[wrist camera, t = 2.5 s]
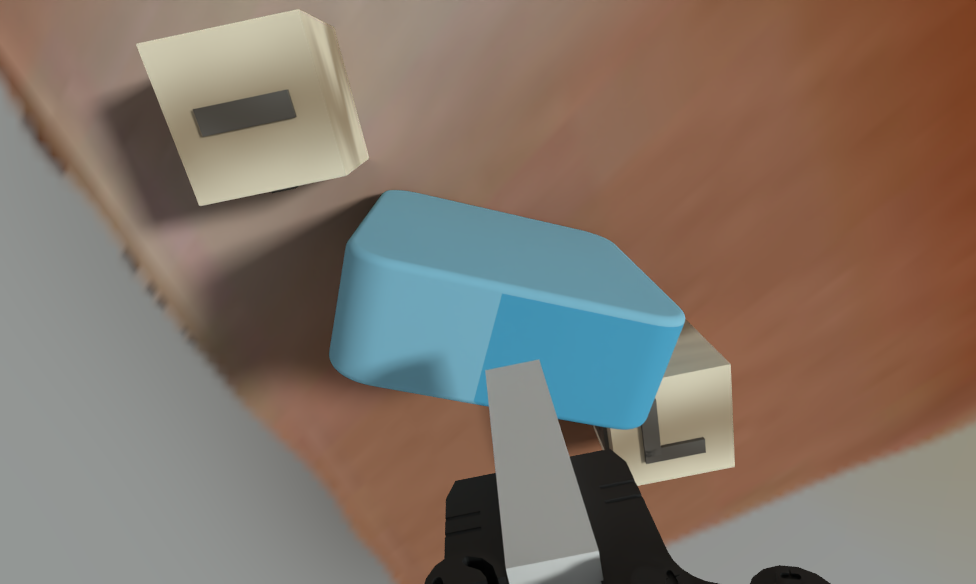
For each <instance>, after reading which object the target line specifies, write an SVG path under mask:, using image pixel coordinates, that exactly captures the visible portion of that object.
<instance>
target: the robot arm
mask: <svg viewBox="0 0 976 584" xmlns="http://www.w3.org/2000/svg"><path fill="white" fill-rule="evenodd" d="M485 373H486V383H487V392H488V402H489V412H490V421H491V431H492V441H493V450H494V460H495V470H496V473H493V474H488V475H483V476H478V477H473V478H468V479H463V480H458V481H455V483H454V485H453V487H452V489H451V491H450V493H449V494H448V496H447V498H446V522H445V535H446V538H445V559H444V560H443V561H441V562H440V563H439V564H437V565H436V566H435V567H434V568H433V570H432V571H431V573H430V574H429V575H428V577H427V578H426V581H425V584H718V583H713V582H708V581H704V580H702V579H699V578H697V577H694V576H692V575H691V574H689V573H688V572H686V571H684V570H683V569H682V568H680V567H679V566H678V565H677V564H676V563H675V562H674V561H673V559H672V558H671V556H670V555H669V553H668V551H667V549H666V547H665V545H664V543H663V540H662V538H661V536H660V534H659V532H658V530H657V527H656V525H655V523H654V521H653V519H652V517H651V514H650V512H649V510H648V508H647V506H646V504H645V501H644V499H643V497H642V496H641V493H640V491H639V488H638V486H637V484H636V483H635V481H634V478H633V475H632V473H631V471H630V469H629V467H628V465H627V462H626V461H625V460H623V459H622V458H621V457H620V456H618V455H617V454H616V453H615V452H614V451H612V450H611V449H607V450H601V451H596V452H591V453H586V454H581V455H576V456H571V457H569V454H568V450H567V447H566V444H565V441H564V438H563V434H562V431H561V428H560V425H559V422H558V418H557V415H556V412H555V409H554V405H553V402H552V399H551V396H550V393H549V389H548V386H547V383H546V380H545V377H544V373H543V370H542V367H541V364H540V360H534V361H529V362H524V363H519V364H514V365H509V366H504V367H499V368H494V369H489V370H485ZM750 584H830V583H829V582H827V581H826V580H824V579H823V578H822V577H820V576H819V575H817V574H815V573H812V572H810V571H807V570H804V569H801V568H799V567H790V566H780V565H779V566H775V567H771V568H766V569H763V570H762V571H760V572H759V573H758V574H757V575H755V576H754V577H753V578H752V580H751V583H750Z"/></svg>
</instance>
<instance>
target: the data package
mask: <svg viewBox="0 0 976 584" xmlns="http://www.w3.org/2000/svg"><path fill="white" fill-rule="evenodd" d="M684 323H685V315H684V313H683V311H682V310H681V309H680V308H679V307H678V306H677V305H676V304H675V303H674V302H673V301H672V300H671V299H670V298H669V297H668V296H667V295H666V294H665V293H664V292H663V291H662V290H661V289H660V288H659V287H658V286H657V285H656V284H655V283H654V282H653V281H652V280H651V279H650V278H649V277H648V276H647V275H646V274H645V273H644V272H642V271H641V270H640V269H639V268H638V267H637V266H636V265H635V264H634V263H633V262H632V261H631V260H630V259H629V258H628V257H627V256H626V255H625V254H624V253H623V252H622V251H621V250H620V249H619V248H618V247H617V246H616V245H615V244H614V243H612V242H611V241H609V240H607V239H605V238H603V237H601V236H598V235H595V234H592V233H589V232H586V231H582V230H578V229H573V228H569V227H565V226H560V225H556V224H551V223H547V222H543V221H538V220H534V219H529V218H525V217H521V216H516V215H512V214H508V213H503V212H499V211H494V210H490V209H486V208H481V207H477V206H472V205H468V204H464V203H459V202H455V201H450V200H446V199H442V198H437V197H433V196H428V195H424V194H420V193H415V192H410V191H402V190H389V191H385V192H384V193H383V194H382V195H381V196H380V198H379V199H378V200H377V202H376V203H375V204H374V206H373V207H372V209H371V210H370V211H369V213H368V214H367V215H366V217H365V218H364V220H363V221H362V222H361V224H360V225H359V227H358V228H357V229H356V231H355V232H354V233H353V235H352V236H351V238H350V239H349V240H348V242H347V244H346V249H345V255H344V262H343V268H342V274H341V281H340V287H339V294H338V300H337V306H336V313H335V319H334V326H333V332H332V338H331V345H330V351H329V357H330V361H331V363H332V365H333V366H334V368H335V369H336V370H337V371H338V372H339V373H341V374H342V375H344V376H345V377H347V378H349V379H351V380H353V381H356V382H359V383H362V384H366V385H371V386H376V387H382V388H387V389H393V390H399V391H404V392H410V393H415V394H421V395H427V396H432V397H438V398H444V399H449V400H455V401H460V402H466V403H472V404H477V405H483V406H488V407H489V402H488V392H487V383H486V373H485V370H489V369H494V368H499V367H504V366H509V365H514V364H519V363H524V362H529V361H534V360H540V364H541V367H542V370H543V373H544V377H545V380H546V383H547V386H548V389H549V393H550V396H551V399H552V402H553V405H554V409H555V412H556V415H557V418H558V419H561V420H567V421H572V422H578V423H584V424H589V425H595V426H600V427H606V428H612V429H620V430H628V429H634V428H637V427H639V426H641V425H642V424H643V423H644V422H645V421H646V419H647V417H648V414H649V412H650V409H651V407H652V404H653V401H654V399H655V396H656V394H657V391H658V389H659V386H660V384H661V381H662V379H663V376H664V374H665V371H666V368H667V366H668V363H669V361H670V358H671V356H672V353H673V351H674V348H675V346H676V343H677V340H678V338H679V335H680V333H681V330H682V328H683V325H684Z"/></svg>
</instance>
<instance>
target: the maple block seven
mask: <svg viewBox="0 0 976 584" xmlns="http://www.w3.org/2000/svg"><path fill="white" fill-rule="evenodd" d="M593 427H594V430H595V432H596V435H597V437H598V440H599V442H600V445H601V447H602V450H607V449H611V450H612V451H614V452H615V453H616V454H617V455H618V456H620V457H621V458H622V459H623V460H625V461H626V462H627V465H628V467H629V469H630V471H631V473H632V475H633V478H634V481H635V483H636V484H637V486H639V485H644V484H649V483H654V482H659V481H664V480H669V479H675V478H680V477H685V476H690V475H695V474H700V473H705V472H710V471H715V470H720V469H725V468H730V467H735V460H734V436H733V412H732V387H731V364H730V363H729V362H728V361H727V360H726V359H725V358H724V357H723V356H722V355H721V354H720V353H719V352H718V351H717V350H716V349H715V348H714V347H713V346H712V345H711V344H710V343H709V342H708V341H707V340H706V339H705V338H704V337H703V336H702V335H701V334H700V333H699V332H698V331H697V330H696V329H695V328H694V327H693V326H692V325H691V324H690V323H689V322H688V321H687V320H686V319H685V323H684V325H683V328H682V330H681V333H680V335H679V338H678V340H677V343H676V346H675V348H674V351H673V353H672V356H671V358H670V361H669V363H668V366H667V368H666V371H665V374H664V376H663V379H662V381H661V384H660V386H659V389H658V391H657V394H656V396H655V399H654V401H653V404H652V407H651V409H650V412H649V414H648V417H647V419H646V421H645V422H644V423H643V424H642V425H641V426H639V427H637V428H634V429H628V430H620V429H612V428H606V427H600V426H595V425H593Z"/></svg>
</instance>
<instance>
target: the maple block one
mask: <svg viewBox="0 0 976 584" xmlns="http://www.w3.org/2000/svg"><path fill="white" fill-rule="evenodd" d="M136 45H137V48H138V50H139V53H140V56H141V58H142V61H143V63H144V66H145V68H146V71H147V73H148V76H149V79H150V81H151V84H152V86H153V89H154V91H155V94H156V96H157V99H158V102H159V104H160V107H161V109H162V112H163V114H164V117H165V119H166V122H167V125H168V127H169V130H170V132H171V135H172V137H173V140H174V142H175V145H176V148H177V150H178V153H179V155H180V158H181V160H182V163H183V165H184V168H185V171H186V173H187V176H188V178H189V181H190V183H191V186H192V188H193V191H194V194H195V196H196V199H197V201H198V204H199V206H203V205H208V204H213V203H218V202H223V201H227V200H232V199H237V198H242V197H247V196H251V195H256V194H261V193H266V192H272V193H275V192H280V191H285V190H290V189H294V188H297V187H298V186H300V185H304V184H309V183H314V182H319V181H324V180H328V179H333V178H338V177H343V176H347V175H348V174H349V173H351V172H352V171H353V170H355V169H356V168H357V167H358V166H360V165H361V164H362V163H364V162H365V161H366V160H368V159H369V156H368V152H367V148H366V145H365V141H364V137H363V134H362V130H361V126H360V122H359V119H358V115H357V111H356V108H355V104H354V100H353V96H352V93H351V89H350V85H349V82H348V78H347V74H346V70H345V67H344V63H343V59H342V56H341V52H340V48H339V44H338V41H337V37H336V33H335V30H334V27H332V26H330V25H328V24H326V23H324V22H322V21H320V20H319V19H317V18H315V17H313V16H311V15H309V14H307V13H305V12H303V11H301V10H299V9H297V10H292V11H288V12H283V13H278V14H274V15H269V16H264V17H260V18H255V19H250V20H246V21H241V22H236V23H232V24H227V25H222V26H218V27H213V28H208V29H204V30H199V31H194V32H190V33H185V34H180V35H176V36H171V37H166V38H162V39H157V40H152V41H148V42H143V43H138V44H136Z"/></svg>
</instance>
